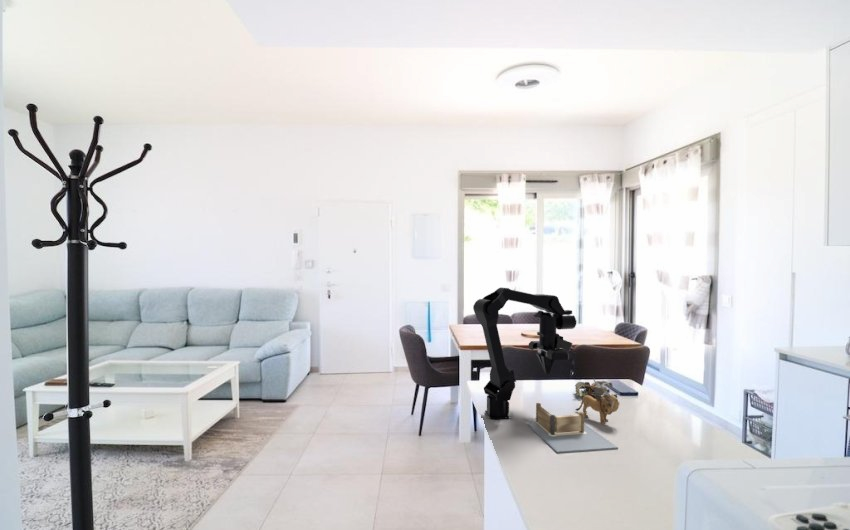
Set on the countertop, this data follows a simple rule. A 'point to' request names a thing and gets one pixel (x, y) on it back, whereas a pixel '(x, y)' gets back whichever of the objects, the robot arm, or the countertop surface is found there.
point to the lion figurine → (600, 406)
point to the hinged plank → (569, 423)
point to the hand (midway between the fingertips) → (547, 374)
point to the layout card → (573, 440)
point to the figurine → (594, 389)
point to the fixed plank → (545, 419)
